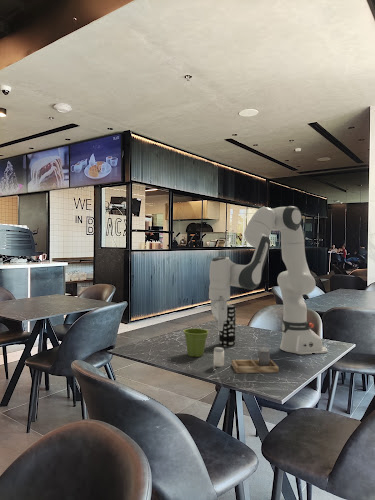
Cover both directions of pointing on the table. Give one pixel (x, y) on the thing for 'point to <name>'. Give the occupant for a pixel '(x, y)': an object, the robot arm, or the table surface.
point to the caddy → (253, 366)
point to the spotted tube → (228, 328)
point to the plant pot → (195, 341)
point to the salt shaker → (218, 357)
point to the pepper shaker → (264, 357)
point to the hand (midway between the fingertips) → (218, 327)
